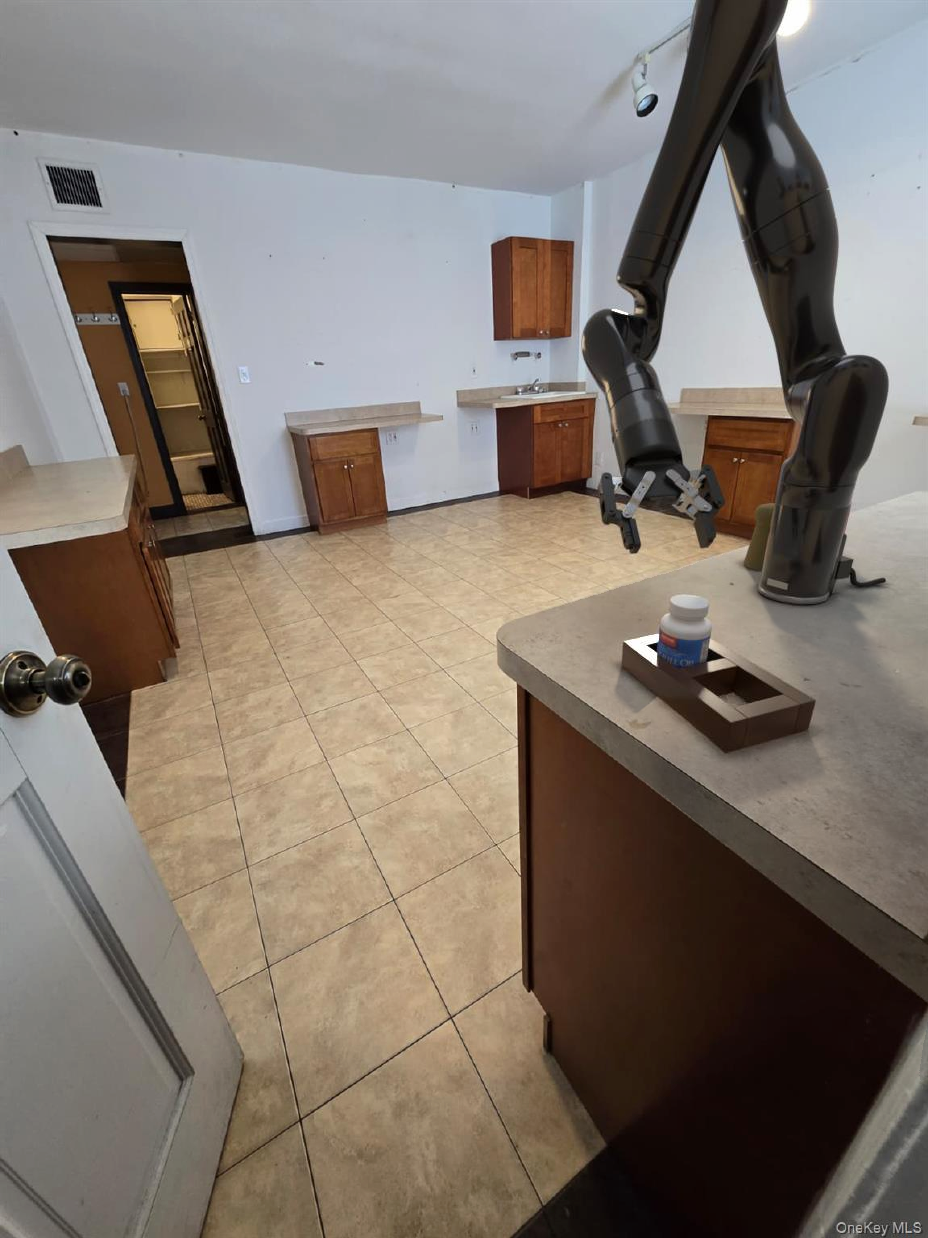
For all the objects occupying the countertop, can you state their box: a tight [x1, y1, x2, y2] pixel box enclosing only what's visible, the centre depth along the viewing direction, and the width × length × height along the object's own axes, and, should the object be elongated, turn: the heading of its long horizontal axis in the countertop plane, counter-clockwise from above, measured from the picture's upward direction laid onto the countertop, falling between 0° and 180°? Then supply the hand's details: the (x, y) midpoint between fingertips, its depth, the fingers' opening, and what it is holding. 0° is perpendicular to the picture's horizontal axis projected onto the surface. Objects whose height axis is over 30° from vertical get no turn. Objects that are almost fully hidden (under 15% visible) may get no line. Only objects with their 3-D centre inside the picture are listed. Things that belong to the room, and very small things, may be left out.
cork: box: [742, 502, 775, 572], centre depth 90 cm, size 6×6×11 cm
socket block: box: [621, 633, 817, 754], centre depth 56 cm, size 10×18×4 cm, turn 17°
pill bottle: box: [657, 594, 713, 669], centre depth 59 cm, size 6×5×10 cm
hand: (671, 547), depth 60 cm, fingers open, 8 cm apart
